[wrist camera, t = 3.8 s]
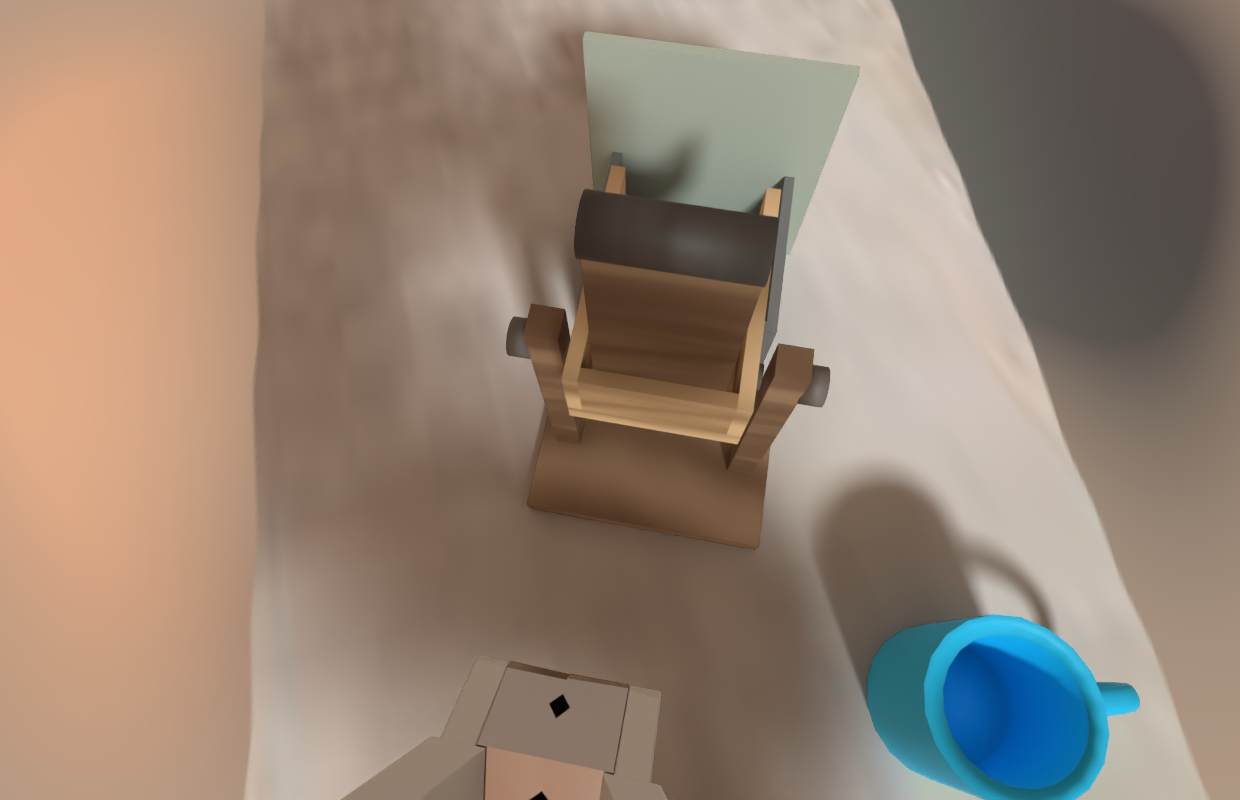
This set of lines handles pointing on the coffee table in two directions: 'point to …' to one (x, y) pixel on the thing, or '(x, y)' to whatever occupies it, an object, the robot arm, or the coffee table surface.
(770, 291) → the bin
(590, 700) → the robot arm
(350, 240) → the coffee table surface
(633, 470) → the stand
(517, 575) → the coffee table surface
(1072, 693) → the mug
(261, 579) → the coffee table surface
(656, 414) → the chute
